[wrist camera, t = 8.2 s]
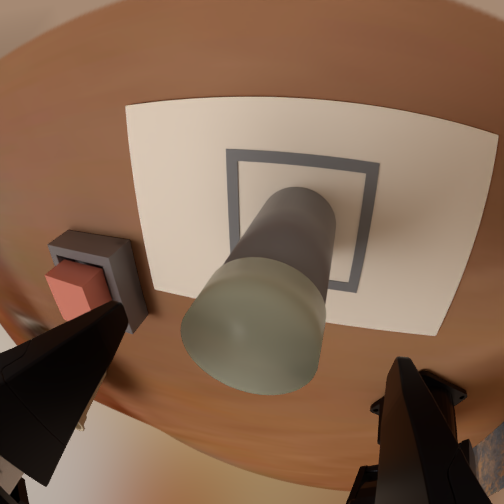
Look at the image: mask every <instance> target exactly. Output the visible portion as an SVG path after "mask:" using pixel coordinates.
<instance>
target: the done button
mask: <svg viewBox="0 0 504 504" xmlns="http://www.w3.org/2000/svg"><path fill="white" fill-rule="evenodd" d="M45 277H46V279H47V282H48V284H49V287H50V289H51V291H52V294H53V296H54V298H55V301H56V303H57V305H58V307H59V310H60V312H61V314H62V316H63V318H64V320H67V321H70V320H72V319H74V318H76V317H78V316H80V315H82V314H84V313H86V312H88V311H90V310H92V309H95V308H97V307H99V306H101V305H103V304H105V303H107V302H109V301H112V298H111V295H110V292H109V289H108V286H107V282H106V279H105V276H104V273H103V270H102V269H101V268H97V267H93V266H89V265H85V264H81V263H77V262H73V261H69V260H65V259H64V260H63V261H61V262H60V263H59V264H58V265H56V266H55V267H54V268H53V269H52V270H50V271H49V272H48V273H47V274H46V275H45Z"/></svg>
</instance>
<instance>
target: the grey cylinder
mask: <svg viewBox="0 0 504 504" xmlns="http://www.w3.org/2000/svg"><path fill="white" fill-rule="evenodd" d="M335 230H336V219H335V215H334V212H333V210H332V208H331V206H330V204H329V203H328V202H327V201H326V199H325V198H323V197H322V196H321V195H320V194H318V193H317V192H315V191H313V190H310V189H307V188H303V187H288V188H284V189H281V190H279V191H277V192H276V193H274V194H273V195H272V196H270V197H269V199H268V200H267V201H266V203H265V204H264V205H263V207H262V208H261V210H260V211H259V213H258V214H257V216H256V217H255V218H254V220H253V221H252V223H251V224H250V226H249V227H248V229H247V230H246V232H245V233H244V235H243V236H242V237H241V239H240V240H239V242H238V243H237V245H236V246H235V248H234V249H233V251H232V252H231V254H230V255H229V257H228V258H227V259H226V261H225V262H224V264H223V265H222V266H221V267H220V268H218V269H217V270H216V271H215V272H214V274H213V275H212V276H211V278H210V279H209V281H208V282H207V283H206V285H205V286H204V288H203V289H202V291H201V292H200V294H199V295H198V297H197V298H196V299H195V301H194V302H193V304H192V305H191V307H190V308H189V310H188V311H187V313H186V314H185V316H184V318H183V320H182V324H181V337H182V341H183V344H184V346H185V348H186V350H187V352H188V354H189V355H190V356H191V358H192V359H193V360H194V361H195V363H196V364H197V365H198V366H199V367H200V368H201V369H203V370H204V371H205V372H206V373H208V374H209V375H210V376H212V377H213V378H215V379H216V380H218V381H220V382H222V383H224V384H226V385H228V386H230V387H233V388H235V389H238V390H241V391H245V392H249V393H254V394H260V395H279V394H285V393H290V392H293V391H296V390H298V389H300V388H302V387H303V386H305V385H306V384H308V383H309V382H310V381H311V380H312V378H313V377H314V375H315V373H316V371H317V368H318V363H319V357H320V352H321V346H322V340H323V335H324V329H325V322H326V307H325V304H326V297H327V291H328V284H329V277H330V270H331V263H332V255H333V247H334V239H335Z"/></svg>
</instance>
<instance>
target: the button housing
mask: <svg viewBox="0 0 504 504" xmlns="http://www.w3.org/2000/svg"><path fill="white" fill-rule="evenodd" d="M48 247H49V250H50V253H51V256H52V259H53V262H54V265H55V266H56V265H58V264H59V263H60V262H61V261H63V260H64V259H65V260H69V261H73V262H77V263H81V264H85V265H89V266H93V267H97V268H101V269H102V270H103V273H104V276H105V279H106V282H107V286H108V289H109V292H110V295H111V298H112V300H114V301H118V302H121V303H122V304H123V305H124V308H125V311H126V314H127V317H128V320H129V323H128V327H127V329H126V331H125V332H128V333H131V334H133V333H134V332H135V331H136V330H137V328H138V327H139V326H140V324H141V323H142V322H143V321H144V319H145V318H146V317H147V316H148V311H147V307H146V304H145V300H144V297H143V293H142V289H141V285H140V281H139V277H138V273H137V269H136V265H135V261H134V257H133V252H132V248H131V243H130V240H128V239H121V238H115V237H108V236H102V235H96V234H89V233H83V232H77V231H71V230H67V231H66V232H64V233H63V234H62V235H60V236H59V237H57V238H56V239H55V240H53V241H52V242H50V243H49V244H48Z"/></svg>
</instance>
